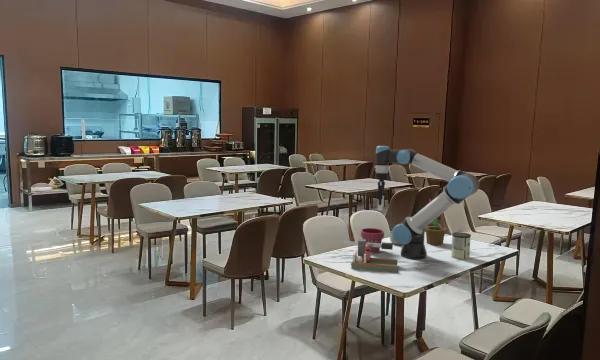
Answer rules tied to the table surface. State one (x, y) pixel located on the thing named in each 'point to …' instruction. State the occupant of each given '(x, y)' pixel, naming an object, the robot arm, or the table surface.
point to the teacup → (393, 239)
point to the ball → (359, 259)
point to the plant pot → (372, 237)
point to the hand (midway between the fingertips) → (380, 208)
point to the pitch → (372, 261)
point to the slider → (367, 247)
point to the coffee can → (460, 245)
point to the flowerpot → (435, 234)
